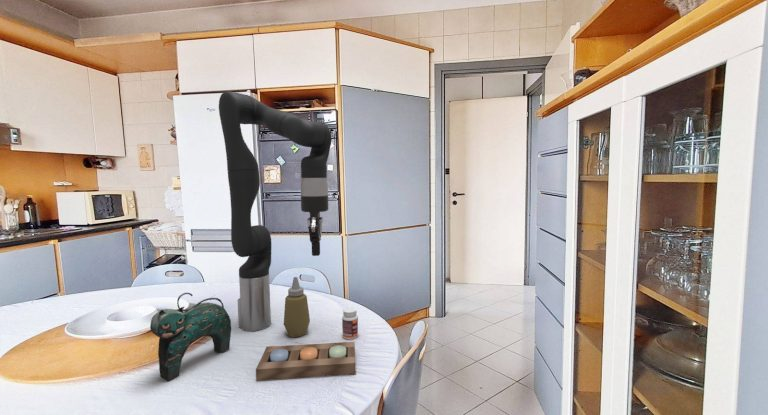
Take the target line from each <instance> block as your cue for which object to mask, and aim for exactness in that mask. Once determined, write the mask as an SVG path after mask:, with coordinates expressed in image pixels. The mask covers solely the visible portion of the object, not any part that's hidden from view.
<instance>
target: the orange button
mask: <svg viewBox="0 0 768 415" xmlns="http://www.w3.org/2000/svg"><path fill="white" fill-rule="evenodd" d="M312 359H318V354H317V349H316V348H314V347H307V348H304V349H302V350H301V351H300V360H312Z"/></svg>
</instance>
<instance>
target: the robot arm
mask: <svg viewBox="0 0 768 415" xmlns="http://www.w3.org/2000/svg"><path fill="white" fill-rule="evenodd" d="M218 100H219V101H218V113H219V114H218V115H219V119H220V124H221V129H222V135H223V139H224V140H223V141H224V146H225V154H226V166H227V167H226V168H227V170H226V171H227V181H228V187H229V197H230V199H229V200H230V213H231V214H230V215H231V218H230V221H231V222H230V240H231V241H230V242H231V247H232V250H233V251H234V253H235V254H236V256H238V257H240V258H246V257H247V259H246V260H245V262H244V263H242V265H241V266H240V267H239V269H238V277H239V279H238V282H239V298H238V299H237V318H238V319H237V321H238V328H240V329H241V330H243V331H247V332H256V331H261V330H264V329H266V328H268V327H270V326H271V324H272V315H271V309H272V308H271V290H270V288H271V287H270V267H271V265H272V237H271V233H270V231H269V229H268V228H267V227H266V226H264V225H262V224H258V225H257V224H256V225H252V219H251V218H252V210H253V206H254V202H255V201H256V198H257V195H258V193H259V190H260V185H261V182H260V181H261V179H260V170H259V163H258V161H257V159H256V157H255V155H254V154H253V152H252V151H251V150H250V148H249V146H248V145H247V143H246V142H245V139H244V137H243V133H242V128H241V125H256V126H257V125H258V126H263V127H266V129H267V130H268V131H270V133H271V132H272V133H273V134H275V135H278V136H280V137H282V138H285V139H287V140H289V141H291V142H292V143H294V144H296V145H298V146H301V147H303V148H304V147H305V148H310V153H309V155H307V156H304V157H302V159H301V160H300V174H301V175H300V179H301V180H300V208H301V209H300V210H301V211H302V212H304V213H309V217H308V218H307V220H306V221H307V222H306V223H307V226H308V227H307V229H308V236H309V241H310V243H311V255H312V256H313V257H316V256H317V257H318V256H320V255H321V240H322V233H323V221H324V219H323V217H322V216H321V213H324V212H327V211H329V185H328V184H329V182H328V172H327V171H328V168H327V163H328V162H327V161H328V159H329V155H330V151H331V146H332V139H333V137H332V132H331V130H330V127H329V126H328V125H327V124H325V123H323V122H318V121H312V120H308V119H304V118H301V117H299V116H298V115H296V114H294V113H291V112H287V111H285V110H281V109H277V108H272V107H270V106H268V105H267V104H265V103H262V102H261V101H260V100H259V99H257V98H254V97H253V96H251V95H249V94H246V93H245V94H244V93H240V92H235V91H229V90H227V91H223V92H222V93H221V94H220V96H219V99H218Z"/></svg>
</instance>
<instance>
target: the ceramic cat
mask: <svg viewBox="0 0 768 415" xmlns="http://www.w3.org/2000/svg"><path fill="white" fill-rule="evenodd" d="M184 295H190V296H191V297H193V294H192V293H190V292H184V293H181V294H180V295H179V296H178V298H177V303H176V304H177V309H173V308H166V309H165V308H164V309H163V308H162V309H161V310H159V311H158V312H156V313H155V314H154V315H153V316H152V317H151V318H150V319H151V320H150V331H151V332H152V334H153V335H155V336H156V337H158V348H157V349H158V352H157V353H158V369H159V377H160V378H161V379H162V380H163V381H167V382H170V381H172V380H174V379H176V378H178V377H179V376H180V370H181V364H182V361H183V358H184V355H185V353H186V352H187V350H188V348H189V347H190V346H191V345H192V344H194V343H195V342H196V341H198V340H199V339H202V338H203V337H204V338H205V337H210V338H211V339H212V342H213V351H214V352H215V353H218V354H224V353H226V352H228V351H229V350H230V347H231V346H230V344H231V337H232V336H231V335H232V321H231V318H230V315H229V314H228V311H226V309H225V307H224V303H223V301H222V300H221V298H220V299H219V298H218V297H209V298H205V299H202V300H201V301H199V302H198V303H195V304H193V305H191V306H188V307H187V308H186V307H185V306H182V307H181V306H180V304H179V303H180V302H179V301H180V299H181V297H182V296H184ZM211 300H216V301H218V302H220V304H221V305H220V304H217V303H213V302H206V301H211Z"/></svg>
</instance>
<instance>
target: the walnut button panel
mask: <svg viewBox="0 0 768 415" xmlns="http://www.w3.org/2000/svg"><path fill="white" fill-rule="evenodd" d="M338 345H340V346H344V347H346V357H344V358H330V357H329V349H330V348H331V347H333V346H338ZM355 345H356V344H355V341H343V342H326V343H325V342H322V343H308V344H307V343H306V344H305V343H304V344H293V345H292V344H289V345H272V346H270V345H269V346H266V347H265V349H264V351H263V353H262V355H261V357H260V359H259V361H258V365H257V366H256V368H255V378H256V379H255V381H256V382H261V381H263V382H264V381H265V382H266V381H276V380H292V379H307V378H320V377H322V378H323V377H337V376H338V377H339V376H347V375H348V376H349V375H356V372H357V371H356V346H355ZM307 347H314V348H316V349H317V354H318V359H312V360H300V351H301V350H302V349H304V348H307ZM277 349H286V350H288V361H279V362H271V358H270V354H271V352H273V351H274V350H277Z"/></svg>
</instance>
